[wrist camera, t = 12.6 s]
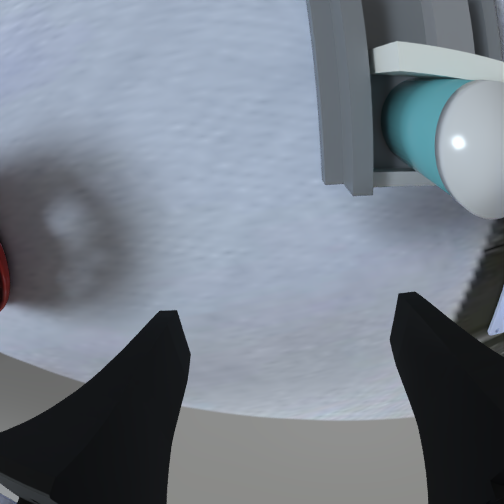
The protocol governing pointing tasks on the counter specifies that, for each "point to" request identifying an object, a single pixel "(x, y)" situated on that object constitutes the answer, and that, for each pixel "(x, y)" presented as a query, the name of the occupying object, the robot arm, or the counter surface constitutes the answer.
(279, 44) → the counter surface
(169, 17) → the counter surface
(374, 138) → the lane
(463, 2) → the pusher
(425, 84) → the jar
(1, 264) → the plant pot
